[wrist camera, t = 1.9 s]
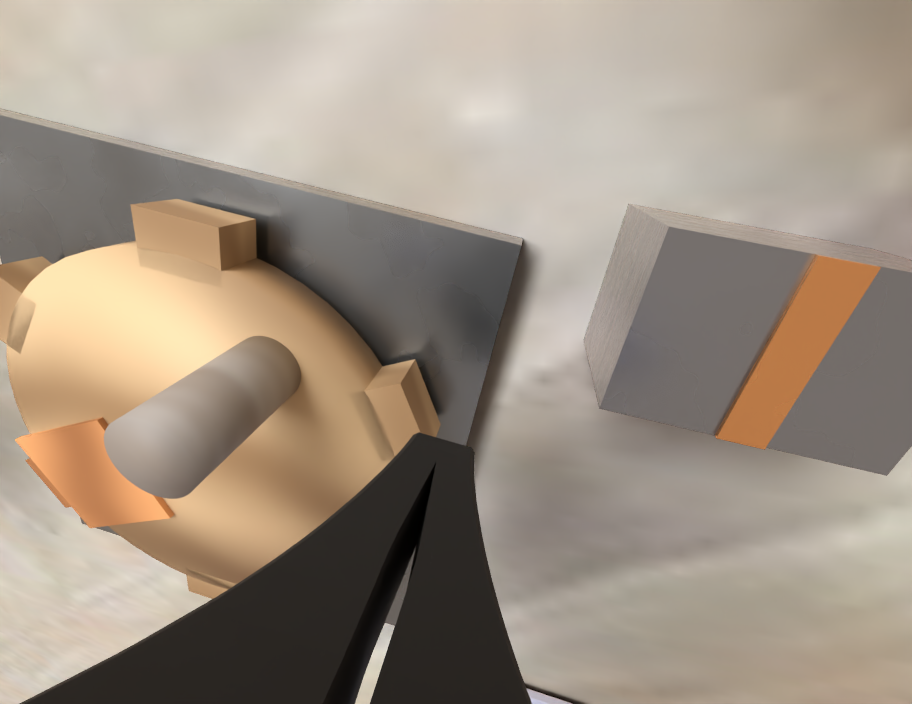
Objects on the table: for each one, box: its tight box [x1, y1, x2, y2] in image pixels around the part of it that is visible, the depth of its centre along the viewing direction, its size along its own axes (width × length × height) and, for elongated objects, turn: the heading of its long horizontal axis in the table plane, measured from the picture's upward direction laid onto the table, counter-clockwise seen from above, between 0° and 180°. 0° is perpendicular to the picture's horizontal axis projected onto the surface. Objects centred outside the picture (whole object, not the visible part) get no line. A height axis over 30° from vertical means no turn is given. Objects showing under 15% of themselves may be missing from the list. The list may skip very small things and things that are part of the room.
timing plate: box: [0, 109, 523, 626], centre depth 16 cm, size 18×17×1 cm
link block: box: [584, 204, 912, 476], centre depth 10 cm, size 6×4×4 cm, turn 81°
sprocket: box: [0, 199, 441, 599], centre depth 13 cm, size 16×15×6 cm
